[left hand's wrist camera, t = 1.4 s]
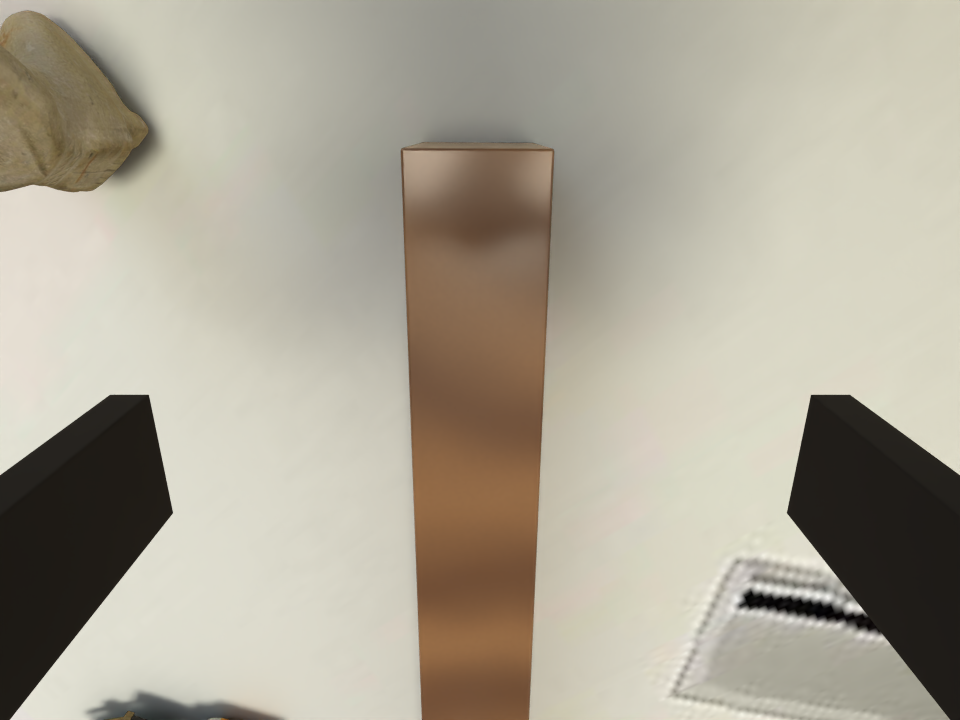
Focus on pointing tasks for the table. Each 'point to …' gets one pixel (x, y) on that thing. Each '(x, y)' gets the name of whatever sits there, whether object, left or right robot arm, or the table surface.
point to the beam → (476, 414)
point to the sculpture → (57, 111)
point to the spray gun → (129, 716)
